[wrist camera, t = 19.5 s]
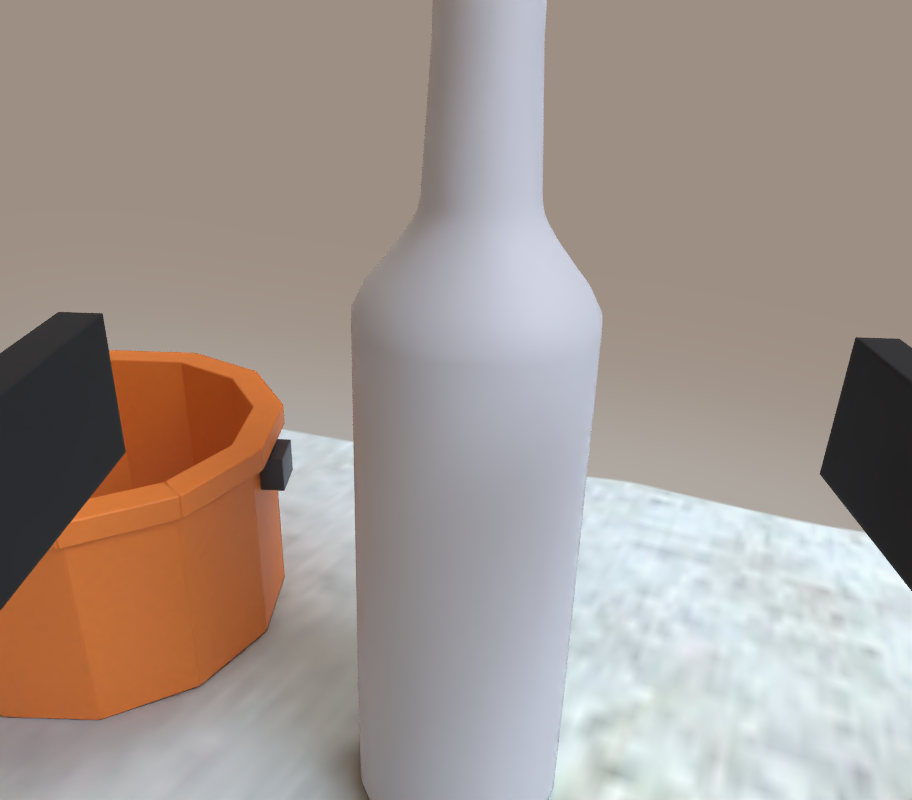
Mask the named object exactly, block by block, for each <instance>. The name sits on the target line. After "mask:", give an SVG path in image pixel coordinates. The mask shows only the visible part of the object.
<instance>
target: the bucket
mask: <svg viewBox="0 0 912 800" xmlns="http://www.w3.org/2000/svg"><path fill="white" fill-rule="evenodd" d="M109 355H110V361H111V367H112V372H113V378H114V384H115V390H116V396H117V402H118V408H119V414H120V420H121V426H122V431H123V437H124V443H125V449H126V453H125V454H124V455H123V457H122V458H121V459H120V460H119V462H118V463H117V464H116V465H115V467H114V468H113V469H112V470H111V472H110V473H109V474H108V476H107V477H106V478H105V479H104V481H103V482H102V483H101V484H100V486H99V487H98V488H97V489H96V491H95V492H94V493H93V494H92V496H91V497H90V498H89V500H88V501H87V502H86V503H85V505H84V506H83V507H82V508H81V510H80V511H79V512H78V513H77V515H76V516H75V517H74V518H73V520H72V521H71V522H70V524H69V525H68V526H67V527H66V529H65V530H64V531H63V532H62V534H61V535H60V536H59V537H58V539H57V540H56V541H55V542H54V544H53V545H52V546H51V548H50V549H49V550H48V551H47V553H46V554H45V555H44V556H43V558H42V559H41V560H40V561H39V563H38V564H37V565H36V566H35V568H34V569H33V570H32V572H31V573H30V574H29V575H28V577H27V578H26V579H25V580H24V582H23V583H22V584H21V585H20V587H19V588H18V589H17V590H16V592H15V593H14V594H13V596H12V597H11V598H10V599H9V601H8V602H7V603H6V604H5V606H4V607H3V608H2V609H1V611H0V716H2V717H25V718H55V719H85V720H100V719H104V718H107V717H110V716H113V715H116V714H119V713H122V712H125V711H128V710H131V709H133V708H136V707H139V706H142V705H145V704H148V703H151V702H154V701H157V700H160V699H163V698H166V697H169V696H172V695H174V694H177V693H180V692H183V691H186V690H189V689H192V688H195V687H198V686H200V685H201V684H203V683H204V682H205V681H207V680H208V679H209V678H210V677H211V676H213V675H214V674H215V673H216V672H217V671H219V670H220V669H221V668H222V667H223V666H225V665H226V664H227V663H228V662H229V661H231V660H232V659H233V658H234V657H235V656H237V655H238V654H239V653H240V652H241V651H243V650H244V649H245V648H246V647H247V646H249V645H250V644H251V643H252V642H253V641H255V640H256V639H257V638H258V637H259V636H261V635H262V634H263V633H264V632H265V631H266V630H267V628H268V625H269V622H270V619H271V616H272V613H273V610H274V607H275V604H276V601H277V598H278V595H279V592H280V589H281V586H282V583H283V580H284V577H285V576H284V563H283V550H282V537H281V525H280V512H279V499H278V490H279V491H284V490H285V487H286V485H287V482H288V480H289V477H290V475H291V472H292V470H293V469H292V454H291V441H290V440H284V439H278V436H279V434H280V432H281V430H282V428H283V425H284V411H283V404H282V403H281V402H280V400H279V399H278V398H277V397H276V395H275V394H274V393H273V392H272V390H271V389H270V388H269V387H268V385H267V384H266V383H265V382H264V380H263V379H262V378H261V377H260V376H259V374H258V373H257V372H255V371H253V370H250V369H246V368H243V367H240V366H237V365H234V364H230V363H227V362H224V361H220V360H217V359H214V358H210V357H207V356H204V355H201V354H197V353H181V352H151V351H149V352H148V351H120V350H115V351H113V350H112V351H109Z"/></svg>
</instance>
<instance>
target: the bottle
mask: <svg viewBox="0 0 912 800" xmlns="http://www.w3.org/2000/svg"><path fill="white" fill-rule="evenodd" d="M546 4H547V0H433V10H432V12H433V13H432V41H431V42H432V43H431V55H430V69H429V83H428V97H427V111H426V125H425V140H424V153H423V167H422V182H421V195H420V199H419V204H418V208H417V211H416V213H415V214H414V216H413V218H412V220H411V222H410V223H409V224H408V226H407V227H406V229H405V230H404V232H403V233H402V235H401V236H400V237H399V239H398V240H397V241H396V243H395V244H394V245H393V246H392V247H391V249H390V250H389V251H388V252H387V254H386V255H385V256H384V257H383V258H382V260H381V261H380V262H379V263H378V264H377V266H376V267H375V268H374V269H373V270H372V271H371V273H370V274H369V275H368V276H367V277H366V279H365V281H364V283H363V284H362V286H361V288H360V290H359V292H358V294H357V296H356V298H355V300H354V302H353V304H352V309H351V334H352V387H353V436H354V437H353V438H354V489H355V540H356V591H357V642H358V693H359V728H360V757H361V779H362V782H363V785H364V788H365V790H366V792H367V795H368V797H369V799H370V800H548V798H549V796H550V794H551V791H552V789H553V785H554V775H555V767H556V759H557V750H558V742H559V733H560V725H561V717H562V707H563V698H564V688H565V678H566V669H567V659H568V650H569V640H570V630H571V621H572V611H573V602H574V592H575V582H576V573H577V563H578V554H579V544H580V534H581V525H582V515H583V506H584V496H585V486H586V477H587V466H588V458H589V448H590V437H591V429H592V419H593V410H594V399H595V390H596V381H597V370H598V360H599V352H600V342H601V330H602V312H601V310H600V307H599V305H598V303H597V300H596V298H595V296H594V293H593V291H592V289H591V286H590V285H589V284H588V282H587V281H586V280H585V278H584V277H583V276H582V274H581V273H580V271H579V270H578V268H577V267H576V266H575V264H574V263H573V262H572V260H571V259H570V257H569V256H568V254H567V253H566V251H565V250H564V248H563V247H562V246H561V244H560V243H559V241H558V239H557V238H556V236H555V234H554V232H553V231H552V229H551V227H550V225H549V223H548V221H547V218H546V216H545V213H544V207H543V200H542V195H543V194H542V193H543V110H544V107H543V106H544V37H545V36H544V35H545V20H546Z"/></svg>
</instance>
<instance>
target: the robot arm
mask: <svg viewBox="0 0 912 800" xmlns="http://www.w3.org/2000/svg"><path fill="white" fill-rule="evenodd" d="M125 453H126V449H125V443H124V437H123V431H122V426H121V420H120V414H119V408H118V402H117V396H116V390H115V384H114V378H113V372H112V367H111V361H110V355H109V350H108V344H107V337H106V331H105V326H104V319H103V314H102V313H101V314H100V313H71V312H58V313H56V314H55V315H54V316H52V317H51V318H49V319H48V320H47V321H45V322H44V323H42V324H41V325H40V326H38V327H37V328H35V329H34V330H32V331H31V332H30V333H28V334H27V335H26V336H24V337H23V338H21V339H20V340H18V341H17V342H16V343H14V344H13V345H11V346H10V347H9V348H7V349H6V350H4V351H3V352H2V353H0V611H1V609H2V608H3V607H4V606H5V604H6V603H7V602H8V601H9V599H10V598H11V597H12V596H13V594H14V593H15V592H16V590H17V589H18V588H19V587H20V585H21V584H22V583H23V582H24V580H25V579H26V578H27V577H28V575H29V574H30V573H31V572H32V570H33V569H34V568H35V566H36V565H37V564H38V563H39V561H40V560H41V559H42V558H43V556H44V555H45V554H46V553H47V551H48V550H49V549H50V548H51V546H52V545H53V544H54V542H55V541H56V540H57V539H58V537H59V536H60V535H61V534H62V532H63V531H64V530H65V529H66V527H67V526H68V525H69V524H70V522H71V521H72V520H73V518H74V517H75V516H76V515H77V513H78V512H79V511H80V510H81V508H82V507H83V506H84V505H85V503H86V502H87V501H88V500H89V498H90V497H91V496H92V494H93V493H94V492H95V491H96V489H97V488H98V487H99V486H100V484H101V483H102V482H103V481H104V479H105V478H106V477H107V476H108V474H109V473H110V472H111V470H112V469H113V468H114V467H115V465H116V464H117V463H118V462H119V460H120V459H121V458H122V457H123V455H124V454H125ZM820 475H821V476H822V477H823V479H824V480H825V481H826V482H827V484H828V485H829V486H830V487H831V489H832V490H833V491H834V493H835V494H836V495H837V496H838V498H839V499H840V500H841V502H842V503H843V504H844V505H845V506H846V508H847V509H848V510H849V512H850V513H851V514H852V516H853V517H854V518H855V519H856V520H857V522H858V523H859V524H860V525H861V527H862V528H863V530H864V531H865V532H866V533H867V535H868V536H869V537H870V538H871V540H872V541H873V542H874V544H875V545H876V546H877V547H878V549H879V550H880V551H881V552H882V554H883V555H884V556H885V558H886V559H887V560H888V561H889V563H890V564H891V565H892V566H893V568H894V569H895V570H896V572H897V573H898V574H899V575H900V577H901V578H902V579H903V580H904V582H905V583H906V584H907V586H908V587H909V588H910V589H911V591H912V348H911V347H910V346H908V345H907V344H906V343H904V342H903V341H902V340H900V339H886V338H885V339H884V338H855V342H854V346H853V349H852V353H851V357H850V361H849V365H848V368H847V372H846V376H845V380H844V385H843V387H842V391H841V395H840V399H839V403H838V406H837V411H836V414H835V418H834V422H833V426H832V429H831V434H830V437H829V441H828V445H827V448H826V452H825V456H824V460H823V464H822V468H821V471H820Z"/></svg>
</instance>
